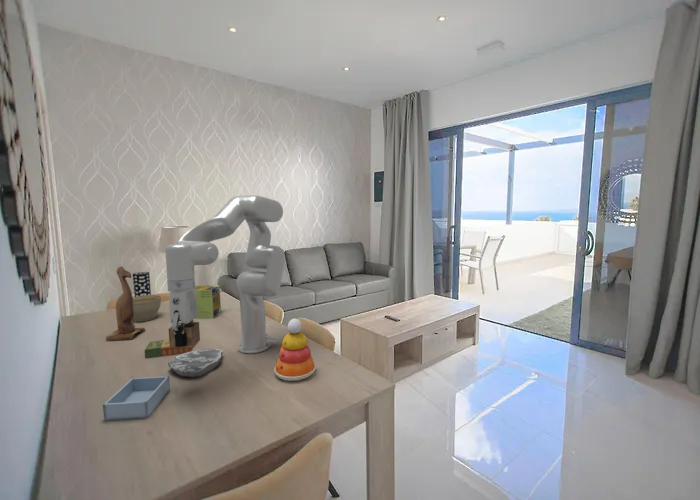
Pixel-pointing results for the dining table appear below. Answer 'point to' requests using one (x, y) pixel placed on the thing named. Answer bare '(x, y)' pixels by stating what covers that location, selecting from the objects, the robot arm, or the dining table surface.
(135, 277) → the spotted tube
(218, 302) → the protein box
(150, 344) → the carton
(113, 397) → the blue tray
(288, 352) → the stacking toy
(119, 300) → the bird sculpture
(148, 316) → the planter bowl
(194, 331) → the walnut crate
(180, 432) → the dining table surface
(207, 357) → the brain slice
